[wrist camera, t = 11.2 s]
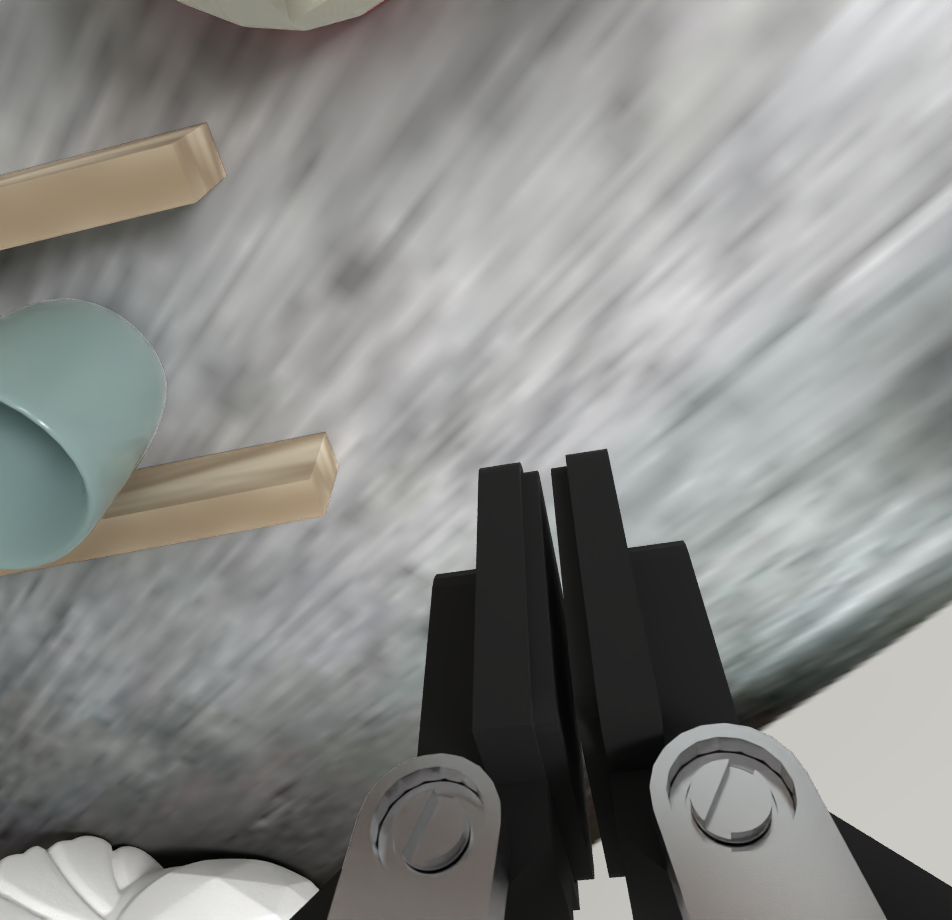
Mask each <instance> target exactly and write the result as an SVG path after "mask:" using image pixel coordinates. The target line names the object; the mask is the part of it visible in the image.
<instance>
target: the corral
mask: <svg viewBox="0 0 952 920" xmlns="http://www.w3.org/2000/svg"><path fill="white" fill-rule="evenodd" d="M226 176H227V175H226V173H225V170H224V167H223V165H222V162H221V160H220V157H219V154H218V152H217V149H216V147H215V144H214V141H213V139H212V136H211V134H210V131H209V128H208V126H207V123H203V124H199V125H195V126H191V127H187V128H183V129H179V130H175V131H171V132H168V133H164V134H160V135H156V136H152V137H148V138H144V139H140V140H136V141H132V142H129V143H125V144H121V145H117V146H113V147H109V148H105V149H101V150H97V151H93V152H89V153H86V154H82V155H78V156H74V157H70V158H66V159H62V160H58V161H54V162H50V163H46V164H43V165H39V166H35V167H31V168H27V169H23V170H19V171H15V172H11V173H7V174H4V175H0V250H4V249H8V248H12V247H16V246H20V245H24V244H28V243H32V242H36V241H41V240H45V239H49V238H53V237H57V236H61V235H65V234H69V233H73V232H78V231H82V230H86V229H90V228H94V227H98V226H102V225H106V224H111V223H115V222H119V221H123V220H127V219H131V218H135V217H139V216H143V215H148V214H152V213H156V212H160V211H164V210H168V209H172V208H176V207H181V206H185V205H189V204H193V203H196V202H197V201H198V200H200V199H201V198H202V197H203V196H204V195H205V194H206V193H208V192H209V191H210V190H211V189H212V188H213V187H214V186H216V185H217V184H218V183H219V182H220V181H221V180H222V179H224V178H225V177H226ZM338 467H339V466H338V463H337V461H336V458H335V456H334V453H333V450H332V448H331V445H330V443H329V440H328V437H327V435H326V432H323V433H318V434H313V435H308V436H303V437H298V438H293V439H288V440H283V441H278V442H273V443H268V444H263V445H258V446H253V447H248V448H243V449H238V450H233V451H228V452H223V453H218V454H213V455H208V456H203V457H198V458H193V459H188V460H183V461H178V462H173V463H168V464H163V465H158V466H153V467H148V468H143V469H138V470H135V471H134V472H133V474H132V475H131V477H130V478H129V480H128V481H127V483H126V484H125V486H124V487H123V489H122V490H121V492H120V493H119V495H118V496H117V497H116V499H115V500H114V502H113V503H112V505H111V506H110V507H109V509H108V510H107V512H106V513H105V515H104V516H103V517H102V519H101V520H100V522H99V523H98V524H97V526H96V527H95V528H94V529H93V531H92V532H91V533H90V534H89V535H88V536H87V537H86V538H85V539H84V540H83V541H82V542H81V543H80V544H79V545H78V546H77V547H76V548H75V549H73V550H72V551H71V552H70V553H68V554H66V555H65V556H63V557H61V558H59V559H58V560H56V561H54V562H51V563H48V564H45V565H42V566H40V567H35V568H29V569H22V570H0V576H4V575H9V574H15V573H20V572H25V571H31V570H36V569H42V568H47V567H52V566H58V565H63V564H69V563H74V562H79V561H85V560H90V559H95V558H101V557H106V556H112V555H117V554H122V553H128V552H133V551H138V550H144V549H149V548H155V547H160V546H165V545H171V544H176V543H182V542H187V541H192V540H198V539H203V538H208V537H214V536H219V535H225V534H230V533H235V532H241V531H246V530H251V529H257V528H262V527H268V526H273V525H278V524H284V523H289V522H294V521H300V520H305V519H311V518H316V517H321V516H325V514H326V511H327V507H328V504H329V500H330V496H331V493H332V489H333V485H334V482H335V478H336V475H337V471H338Z"/></svg>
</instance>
